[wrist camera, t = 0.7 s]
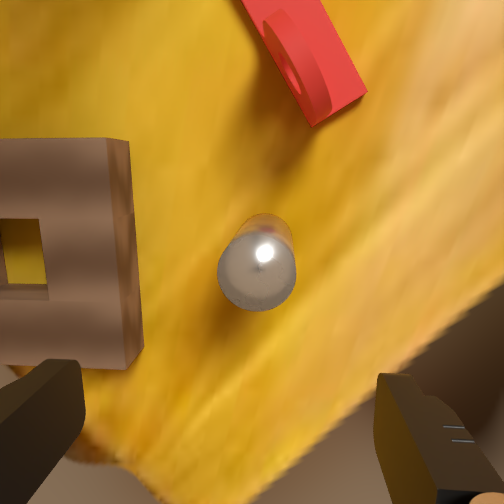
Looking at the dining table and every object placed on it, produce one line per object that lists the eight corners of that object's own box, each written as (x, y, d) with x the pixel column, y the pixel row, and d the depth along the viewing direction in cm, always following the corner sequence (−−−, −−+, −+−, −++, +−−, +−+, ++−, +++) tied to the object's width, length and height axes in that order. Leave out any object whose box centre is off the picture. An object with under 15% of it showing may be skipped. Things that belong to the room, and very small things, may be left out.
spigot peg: (237, 213, 31) (216, 234, 21) (292, 213, 30) (296, 235, 21) (238, 266, 32) (218, 310, 22) (291, 267, 31) (295, 312, 22)
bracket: (364, 94, 28) (394, 67, 20) (311, 127, 29) (320, 114, 21) (283, -61, 26) (282, -155, 18) (229, -20, 27) (207, -94, 19)
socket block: (-78, 143, 31) (-129, 140, 28) (128, 141, 30) (105, 137, 26) (-40, 340, 35) (-80, 361, 32) (144, 346, 34) (126, 369, 30)
